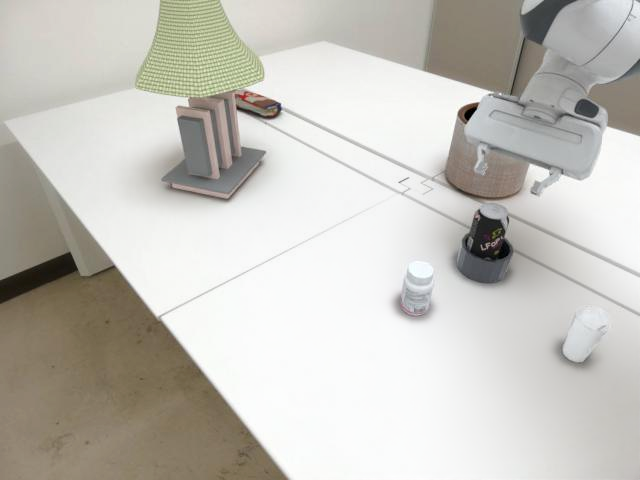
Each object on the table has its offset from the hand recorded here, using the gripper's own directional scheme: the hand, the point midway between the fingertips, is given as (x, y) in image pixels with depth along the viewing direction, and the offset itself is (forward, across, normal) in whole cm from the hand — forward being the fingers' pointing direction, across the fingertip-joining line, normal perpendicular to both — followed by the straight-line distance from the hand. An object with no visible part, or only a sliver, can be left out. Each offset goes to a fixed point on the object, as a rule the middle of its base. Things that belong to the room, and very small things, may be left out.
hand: (505, 183), depth 72 cm
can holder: (+12, 0, +13) cm, 18 cm away
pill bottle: (+24, -4, +2) cm, 25 cm away
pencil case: (0, -84, +26) cm, 89 cm away
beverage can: (+12, -1, +13) cm, 18 cm away
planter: (-8, -14, +34) cm, 37 cm away
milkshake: (+19, +20, +7) cm, 28 cm away
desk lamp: (+22, -62, +4) cm, 66 cm away
